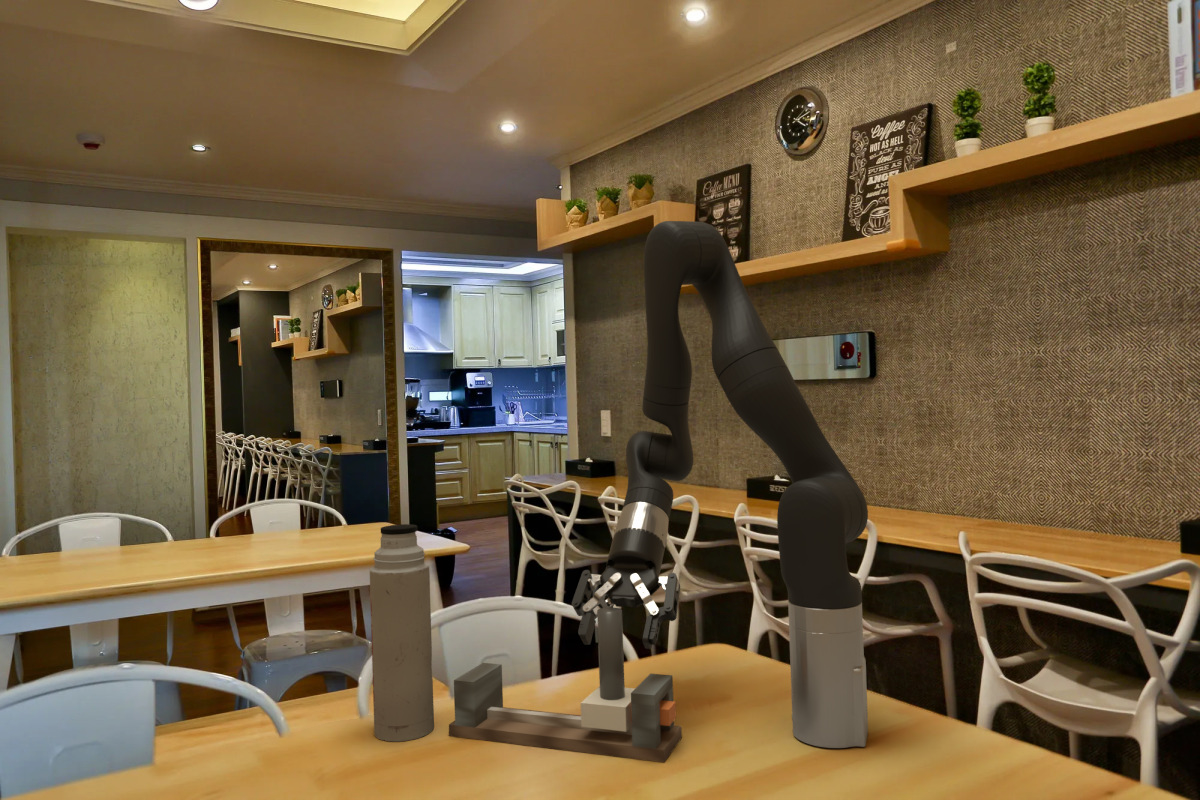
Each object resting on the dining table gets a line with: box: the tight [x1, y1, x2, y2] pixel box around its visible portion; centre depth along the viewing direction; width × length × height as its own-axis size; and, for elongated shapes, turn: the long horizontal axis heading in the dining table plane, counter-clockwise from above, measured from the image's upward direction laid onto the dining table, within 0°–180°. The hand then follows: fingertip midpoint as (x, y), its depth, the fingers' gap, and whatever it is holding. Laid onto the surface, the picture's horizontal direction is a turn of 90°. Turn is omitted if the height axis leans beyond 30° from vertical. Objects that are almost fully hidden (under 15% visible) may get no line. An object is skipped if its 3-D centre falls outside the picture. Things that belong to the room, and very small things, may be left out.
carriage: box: [580, 607, 636, 732], centre depth 109 cm, size 6×7×14 cm
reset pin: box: [631, 700, 677, 726], centre depth 107 cm, size 5×3×2 cm, turn 69°
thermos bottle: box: [369, 523, 435, 742], centre depth 116 cm, size 8×8×28 cm
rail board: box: [448, 662, 683, 763], centre depth 112 cm, size 30×8×8 cm, turn 69°
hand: (615, 643), depth 110 cm, fingers open, 8 cm apart
